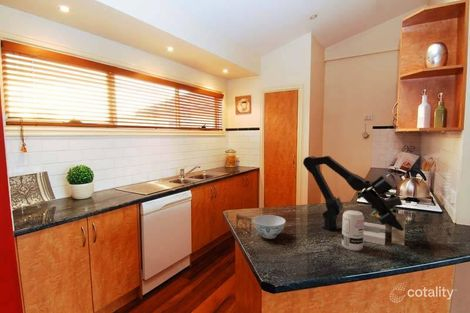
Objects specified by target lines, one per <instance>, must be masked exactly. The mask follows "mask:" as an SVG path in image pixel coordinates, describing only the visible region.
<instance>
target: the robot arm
mask: <svg viewBox="0 0 470 313" xmlns="http://www.w3.org/2000/svg"><path fill="white" fill-rule="evenodd" d="M302 164H303V166H304V168H305V169H306V170H307V171H308V172H309V173H310V174H311V176H312V177H313V178H314V180H315V183H316V185H317V186H318V188H319V190H320V192H321V195H322V196H323V198H324V201H325V208H326V210H325V211H324V212H323V213H322V217H323V218H324V219H323V221H324V222H323V225H322V226H321V228H322V229H325V230H327V231H330V232H335V231H338V230H340V227H339V226H338V215H340V213H342V211H343V210H344V206H343V205H344V203H342V201H341V199H340V197H336V196H335V195H334V194H333V192H332V190H331V189H330V187H329V184H328V183H327V181H326V179H325V177H324V174H323V173H322V171H321V166H320V165H326V166H327V167H328V168H330V169H331V170H332V171H334V172H335V173H337V174H338V175H339V176H340V177H342V178H343V179H344V180H345V181H346V182H347V184H348V185H349V186H350V187H351V189H353V191H356V192H357V199H358V200H360V199H362V198H363V199H364V200H365V201H366V202H367V203H368V204H369V206H370V207H371V209H374V211H375V210H376V211H377V212H378V215H379V216H380V218H379V223H381V225H385V224H386V225H388V226H390V227H391V228H392V227H394V228H396V229H398V230H401V231H402V230H404V229H403V228H402V226H401V225H400V224H399V222H398V221H397V219H396V214H394V213H397V208H396V207H399V206H402V205H403V201H402V199H401V198H400V195H396V194H394V193H392V194H390V195H389V196H390V198H388V197H387V198H386V199H385V198H384V197H382V196H380V195H385V194H386V193H388V192H390V191H391V190H393V188H395V186H394V184H393V183H392V181H391V180H389V179H388V178H387V177H385V176H383V175H380V176H379V177H378V178H377V179H376V180H374V181H372V180H371V181H370V180H366V179H365V178H364V177H363V176H360V175H359V174H356V173H354V172H352V171H350V170H348V169H347V168H346V167H345V166H343V165H342V164H340V163H339V162H337V160H335V159H333V158H332V157H331V156H330V155H325V156H318V157H316V156H314V155H311V156H306V157H304V158H303V161H302ZM391 208H394V209H393V210H392V209H391ZM390 209H391V210H390Z"/></svg>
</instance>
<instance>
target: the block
mask: <svg viewBox="0 0 470 313" xmlns="http://www.w3.org/2000/svg"><path fill="white" fill-rule="evenodd" d="M394 214H396V219H397V221H398V222H399V224H400V225H401V226H402V228H403V229H404V230H402V231H401V230H398V229H396V228H394V227H392V226H391V244H396V245H399V246H400V245H401V246H405V240H406V239H405V235H406V234H405V233H406V222H407V221H406V220H407V219H406V218H407V217H406V214H405V213H399V212H396V213H394Z"/></svg>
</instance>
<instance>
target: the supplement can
mask: <svg viewBox="0 0 470 313" xmlns="http://www.w3.org/2000/svg"><path fill="white" fill-rule="evenodd" d="M364 222H365V216H364V214H363V212H361V211H359V210H353V209H351V210H350V209H347V210H345V211H344V212H343V214H342V225H341V226H342V228H341V245H342V247H343V248H344V249H347V250H349V251H357V252H358V251H361V250H362V249H363V248H364V241H363V234H364Z"/></svg>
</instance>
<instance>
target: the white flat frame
mask: <svg viewBox="0 0 470 313" xmlns="http://www.w3.org/2000/svg"><path fill="white" fill-rule="evenodd" d="M363 242H367V243H373V244H377V245H383V246H385V244H386V225H385V224H384V225H383V224H378V223H374V222H373V223H372V222H366V221H364V234H363Z"/></svg>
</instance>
